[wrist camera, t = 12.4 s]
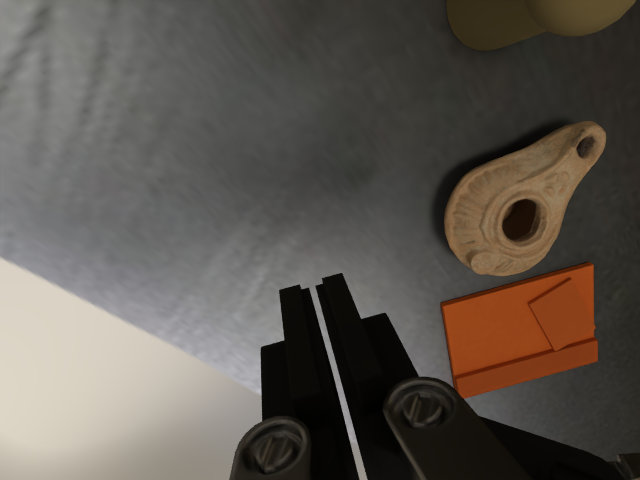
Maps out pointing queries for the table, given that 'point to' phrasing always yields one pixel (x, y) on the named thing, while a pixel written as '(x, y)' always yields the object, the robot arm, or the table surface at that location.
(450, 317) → the rust cloth
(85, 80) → the table surface
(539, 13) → the cork
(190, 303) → the table surface
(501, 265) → the pottery oil lamp
